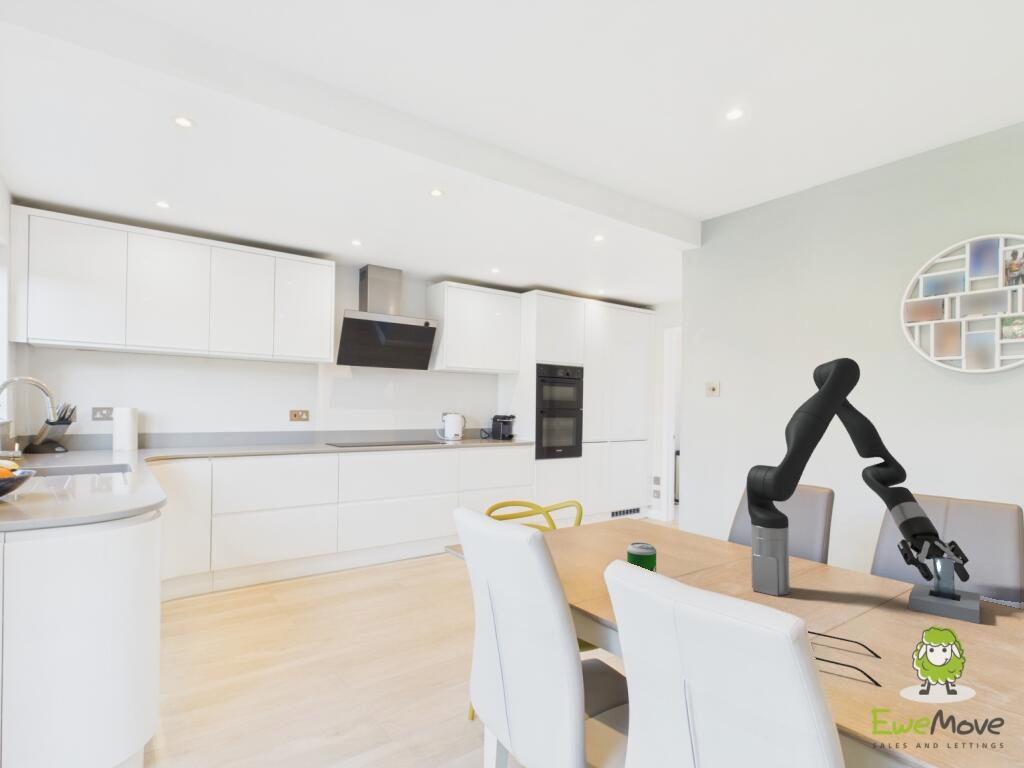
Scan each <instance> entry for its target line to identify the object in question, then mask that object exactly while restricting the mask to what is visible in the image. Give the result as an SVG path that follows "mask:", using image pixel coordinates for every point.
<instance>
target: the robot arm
mask: <svg viewBox="0 0 1024 768" xmlns="http://www.w3.org/2000/svg"><path fill="white" fill-rule="evenodd" d="M812 372H813V373H812V378H813V379H812V380H813V382H814V384H815V386H816V388H817V390H818V391H817V392H815V393H814V394H813V395H812V396H810V397H809V398H808V399H807V400H806V401H805V402H803V403H802V404H801V405H800V406H799V407H798V408H797V409H796V410H795V411H794V413H793V414H792V417H791V418H790V420H789V421H788V423H787V424H786V427H785V431H784V437H785V443H786V449H787V450H786V453H785V455H784V458H783V459H782V461H781V462H780V463H779V464H778V465H777V466H774V465H767V464H766V465H763V464H757V465H753V466H752V467H750V470H749V471H748V473H747V475H746V499H747V500H746V501H747V511H748V514H749V515H748V516H749V518H750V529H751V530H750V532H751V533H750V534H751V535H750V536H751V537H750V540H751V541H750V543H751V544H750V547H751V548H750V550H751V551H750V552H751V558H750V559H751V588H752V591H753V592H754V591H755V592H758V593H762V594H766V595H767V594H768V595H772V596H777V597H778V596H782V595H783V596H785V595H788V594H790V590H791V589H790V588H791V587H790V548H789V547H790V545H789V544H790V542H789V541H790V538H789V534H790V533H789V531H790V530H789V529H790V528H789V527H790V526H789V517H788V516H787V515H786V514H785V513H784V512H782V511H781V510H779V509H778V508H777V507H776V506H775V504H774V502H778V503H779V502H780V503H781V502H786V501H789V499H790V498H791V497H792V496H793V495H794V493H795V491H796V489H797V487H798V485H799V483H800V480H801V479H802V475H803V473H804V471H805V469H806V466H807V464H808V462H809V460H810V458H811V457H812V454H813V453H814V451H815V450H816V447H817V446H818V445H819V443H820V442H821V440H822V439H823V436H824V435H825V433H827V430H828V428H829V425H830V424H831V422H832V420H833V419H834V417H835V415H836V416H837V418H838V419H839V420H840V422H841V423H842V425H843V426H844V428H845V430H846V431H847V433H848V436H849V437H850V440H851V441H852V444H853V446H854V448H855V450H856V453H857V454H858V456H859V457H860V458H862V459H872V458H873V459H874V458H880V459H882V460H883V461H881V462H879V463H878V462H877V463H874V464H872V465H869V466H867V467H864V468H863V469H862V472H861V478H862V481H863V482H864V483H865V485H867V486H868V488H869V489H871V491H873V492H874V493H875V494H876V495H877V496H878V497H879V498H880V499H881V500H882V501H883V503H884V504H885V506H886V508H887V509H888V511H889V513H890V515H891V516H892V519H893V522H894V523H895V524H896V526H897V528H898V530H899V532H900V534H901V535H902V537H903V539H901V540H900V542H899V543H897V548H898V550H899V552H900V555H901V557H902V558H903V560H904V562H905V564H906V565H908V566H914V567H915V568H916V569H917V570H918V572H919V573H920V575H921V578H923V579H924V580H926V582H931V581H932V580H934V573H932V571H931V569H930V568H929V566H928V564H927V563H925V560H933V557H934V556H940V557H944V555H946V557H947V558H951V559H953V560H954V573H956V575H957V577H958V578H959V580H960V582H962V583H966V582H968V581H969V580H970V577H971V576H970V574H969V573H968V571H967V569H966V568H965V565H966V564H967V563H968V562H969V558H968V557H967V556H966V554H965V553H964V552H963V551H962V549H961V547H960V546H959V545H958V543H957V542H956V541H955V540H950V541H949V542H944V541H943V540H942V539H941V538H940V535H939V531H938V530H937V529H936V527H935V526H934V524H933V522H932V521H931V519H930V518H929V516H928V514H927V513H926V512H925V510H924V509H923V507H921V506H920V504H919V502H917V501H918V500H916V498H915V496H914V495H913V494H912V492H911V491H910V489H909V488H907V487H905V486H896V485H899V484H900V485H901V484H902V483H905V481H906V480H907V476H908V475H907V472H906V469H905V468H904V466H902V464H901V463H900V462H899V461H898V460H897V459H896V458H895V457H894V456H893V455H892V453H890V451H889V450H888V448H887V447H886V445H885V443H884V441H883V440H882V437H881V435H880V434H879V432H878V430H877V428H876V426H875V424H874V423H873V422H872V421H871V420H870V419H869V418H868V417H867V416H866V415H864V414H863V413H862V412H860V410H858V409H857V408H856V407H855V406H854V405H853V404H852V403H851V402H850V401H849V400H848V399H847V397H848V396H849V395H850V393H852V391H853V390H854V388H855V387H856V386H857V385H858V383H859V381H860V377H861V369H860V365H859V364H858V362H856V361H855V360H854V359H853V358H850V357H840V358H836V359H833V360H831V361H830V360H829V361H827V362H824V363H822V364H819V365H818V366H816V367H815V368H814V370H813V371H812ZM914 552H915V553H916V554H915V555H914Z"/></svg>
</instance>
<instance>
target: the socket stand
mask: <svg viewBox="0 0 1024 768" xmlns="http://www.w3.org/2000/svg"><path fill="white" fill-rule="evenodd" d="M908 610H909V611H914V612H918V613H919V612H920V613H923V614H928V615H933V616H939V617H943V618H948V619H954V620H960V621H964V622H969V623H972V624H978V625H979V624H980V622H981V621H980V620H981V594H980V593H978V592H974V591H973V592H972V591H967V590H966V591H965V590H961V589H960V590H959V589H957V588H956V589H955V600H950V599H945V598H939V597H934V584H933V585H931V584H927V583H920V582H915V583H914V584H913V587H912V589H911V591H910V593H909V595H908Z"/></svg>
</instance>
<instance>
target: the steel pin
mask: <svg viewBox="0 0 1024 768" xmlns="http://www.w3.org/2000/svg"><path fill="white" fill-rule="evenodd" d="M932 561H933V563H932V565H933V567H932V568H933V576H934V578H933V586H934V597H939V598H945V599H950V600H955V570H954V563H955V561H954V560H953V559H951V558H947V556H943V557H940V556H934V557H933V559H932Z"/></svg>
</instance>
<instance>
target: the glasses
mask: <svg viewBox="0 0 1024 768" xmlns="http://www.w3.org/2000/svg"><path fill="white" fill-rule="evenodd" d="M807 631H808V633H807V634H811V635H816V636H820V637H826V638H830V639H835V640H840V641H843V642H849V643H853V644H858V645H859V646H861V647H863V648H864V649H866V650H867V651H868V652H869V653H870V654H872V655H873V656H875V658H878V659H879V660H880V659H882V657H881V656H880V655H879V654H877V653H876V652H874V651H873V650H872V649H870V647H868V646H866V645H865V644H863V643H861V642H860V641H856V640H851V639H847V638H842V637H838V636H833V635H828V634H824V633H820V632H815V631H809V630H807ZM814 657H815V658H816V659H815V660H817V661H821V662H825V663H830V664H833V665H838V666H842V667H847V668H851V669H854V670H856V671H859V672H860V673H861V674H863V675H864V676H865V677H866V678H867V679H868V680H870V681H871V682H872V683H873V684H874V685H875V686H877V687H879V688H882V685H881V683H879V682H877V680H876V679H874V678H873V677H872V676H870V674H868V673H867V672H865V671H864V670H863V669H861V668H859V667H857V666H854V665H850V664H846V663H841V662H837V661H833V660H829V659H825V658H820V657H818V656H817V657H816V656H814Z"/></svg>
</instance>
